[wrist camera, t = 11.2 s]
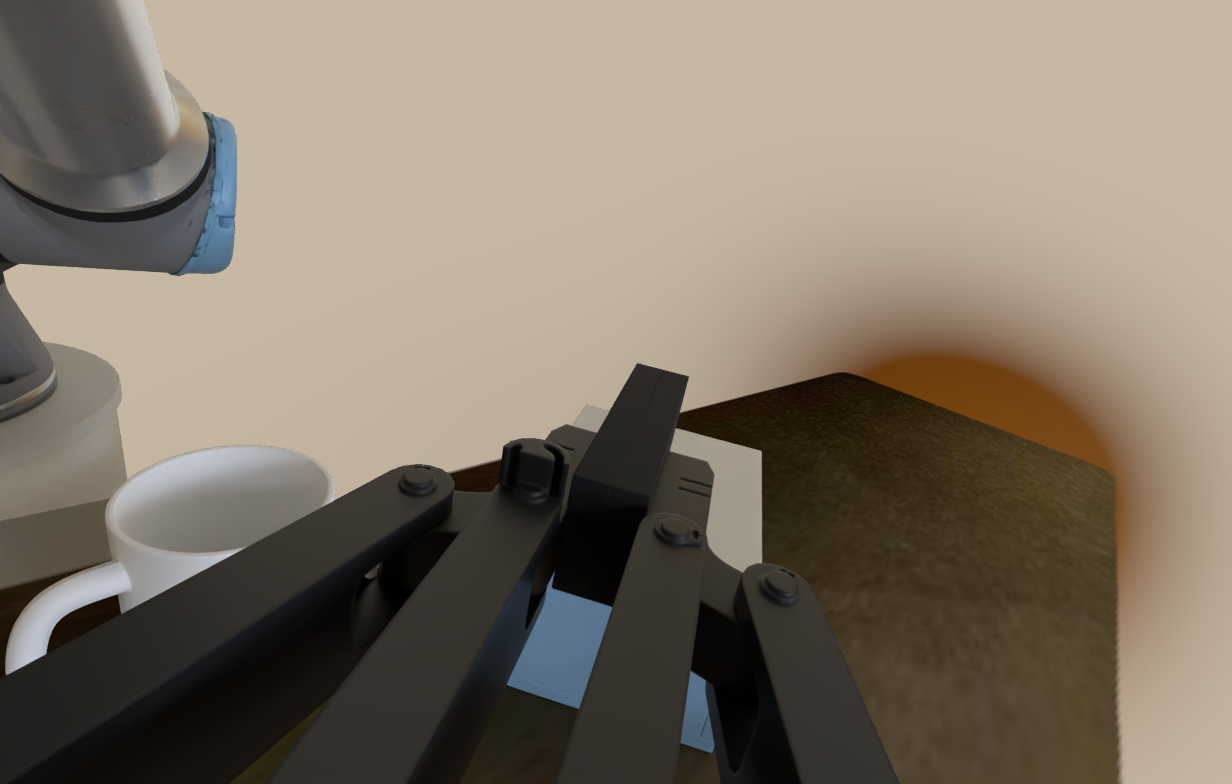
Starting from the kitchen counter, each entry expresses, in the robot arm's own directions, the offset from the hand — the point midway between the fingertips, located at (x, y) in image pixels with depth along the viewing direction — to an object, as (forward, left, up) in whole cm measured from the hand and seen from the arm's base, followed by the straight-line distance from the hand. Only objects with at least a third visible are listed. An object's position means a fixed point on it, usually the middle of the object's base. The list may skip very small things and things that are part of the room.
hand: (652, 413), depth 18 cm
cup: (-15, -9, -20) cm, 27 cm away
